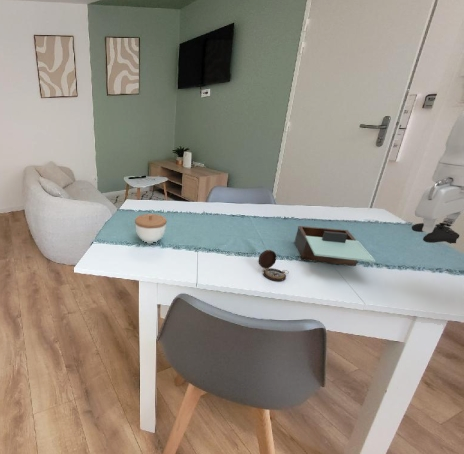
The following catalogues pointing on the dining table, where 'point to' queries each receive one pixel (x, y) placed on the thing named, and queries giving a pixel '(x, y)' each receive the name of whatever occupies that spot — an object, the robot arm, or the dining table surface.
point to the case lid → (338, 247)
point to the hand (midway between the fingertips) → (437, 228)
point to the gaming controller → (438, 233)
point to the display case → (307, 252)
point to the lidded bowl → (150, 227)
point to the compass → (266, 262)
